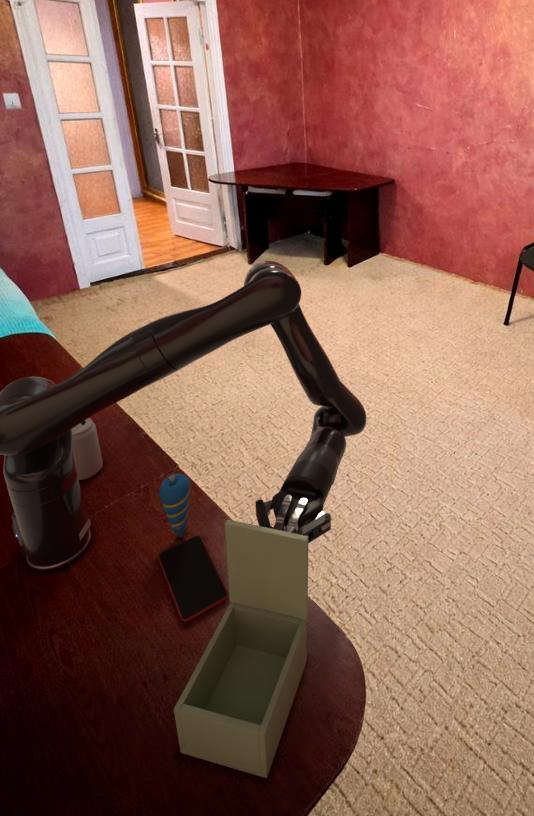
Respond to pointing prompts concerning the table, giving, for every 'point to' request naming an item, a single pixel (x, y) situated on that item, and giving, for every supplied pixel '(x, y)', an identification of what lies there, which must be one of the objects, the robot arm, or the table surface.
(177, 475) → the ornament
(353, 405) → the robot arm
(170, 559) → the smartphone
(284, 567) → the lid
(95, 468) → the beverage can
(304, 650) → the chest
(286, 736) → the table surface
